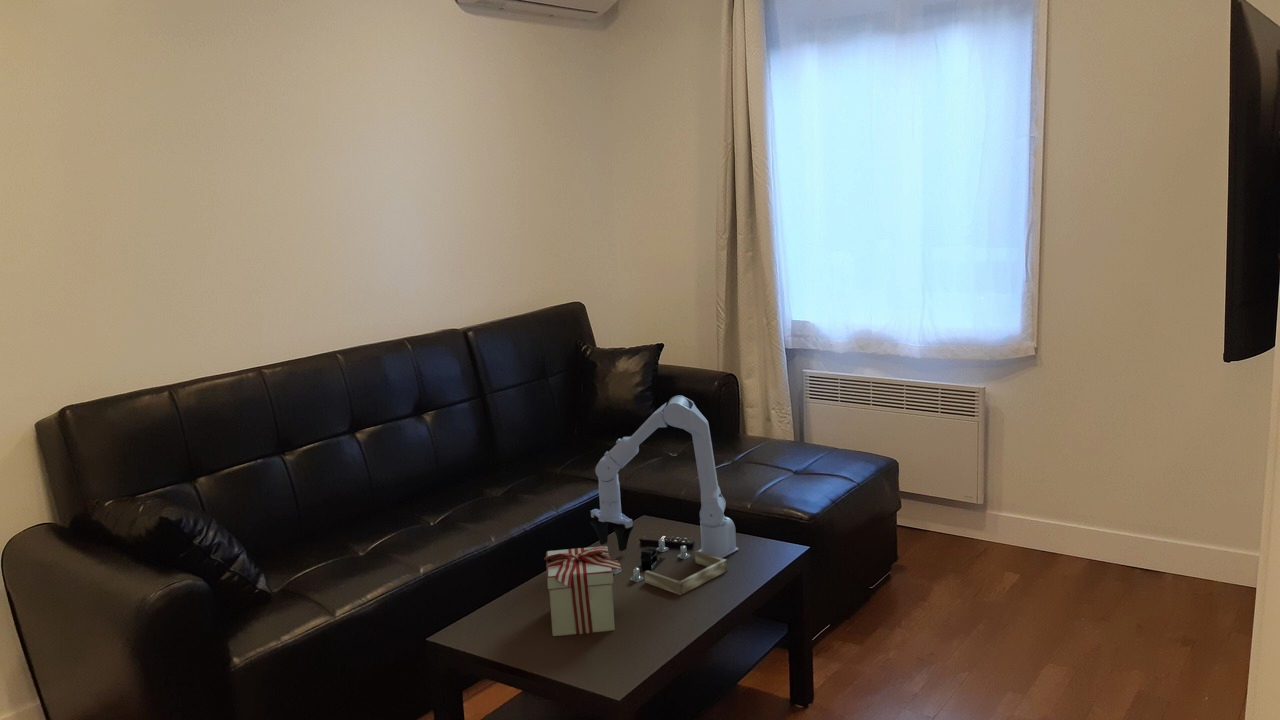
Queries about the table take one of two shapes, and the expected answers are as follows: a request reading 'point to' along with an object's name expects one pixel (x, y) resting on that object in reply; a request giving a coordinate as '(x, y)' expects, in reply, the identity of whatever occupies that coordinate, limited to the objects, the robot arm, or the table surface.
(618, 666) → the table surface
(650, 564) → the black boxy piece
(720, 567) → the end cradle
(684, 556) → the guide pins
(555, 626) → the gift box
